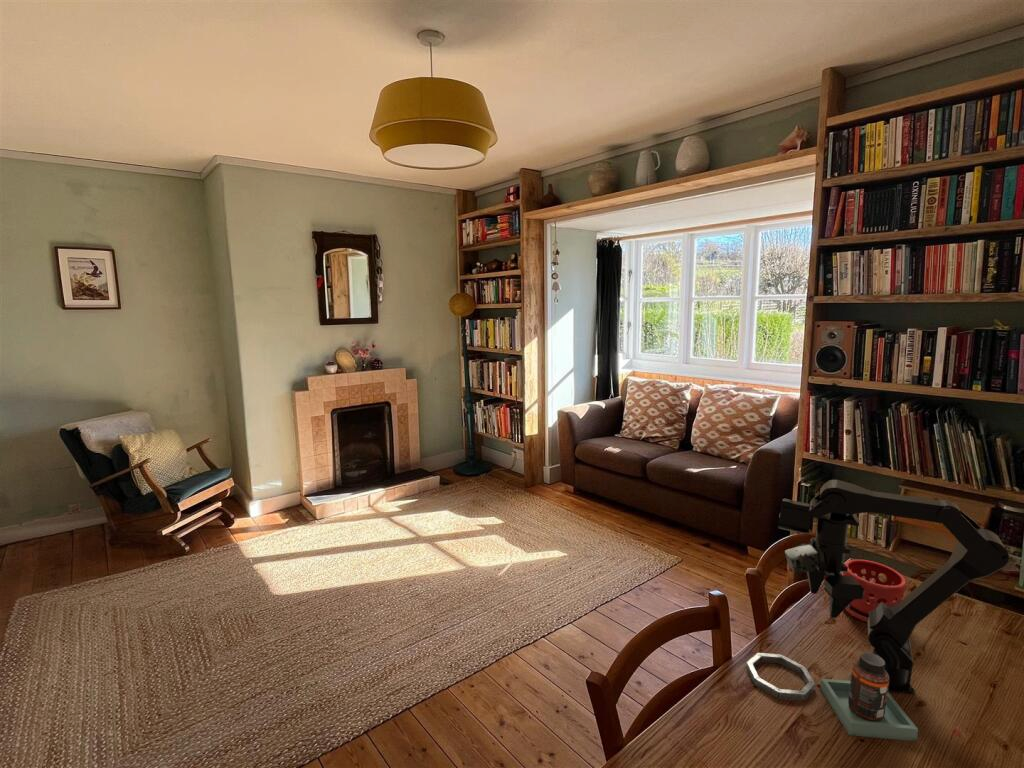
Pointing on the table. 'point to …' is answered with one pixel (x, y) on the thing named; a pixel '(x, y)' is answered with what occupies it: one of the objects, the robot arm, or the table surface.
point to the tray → (888, 727)
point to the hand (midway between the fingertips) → (823, 604)
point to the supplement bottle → (869, 687)
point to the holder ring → (774, 690)
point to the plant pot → (874, 587)
